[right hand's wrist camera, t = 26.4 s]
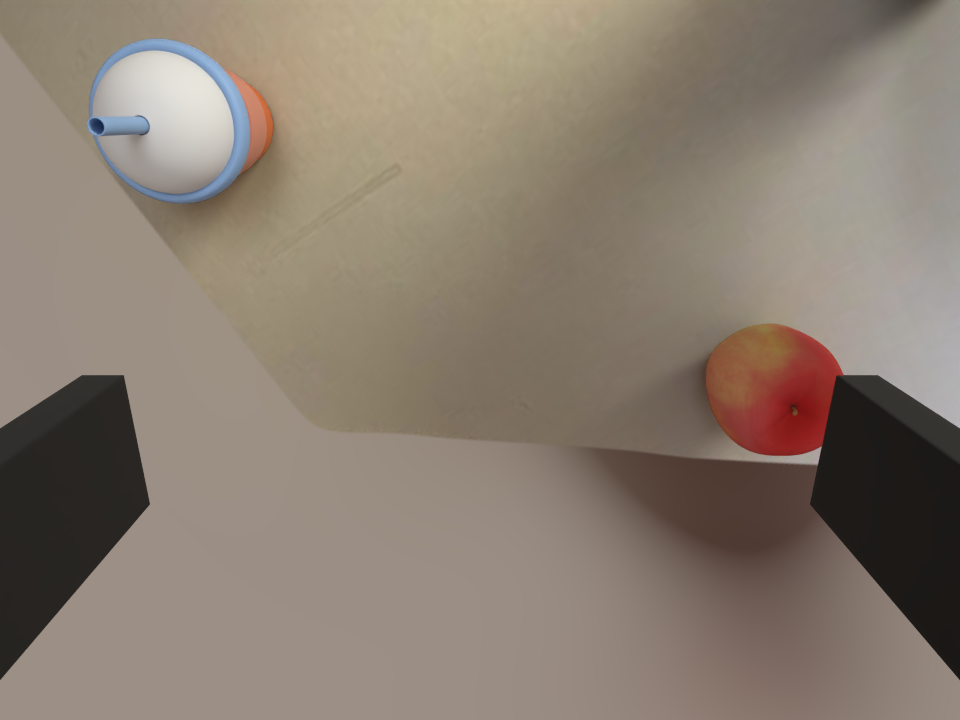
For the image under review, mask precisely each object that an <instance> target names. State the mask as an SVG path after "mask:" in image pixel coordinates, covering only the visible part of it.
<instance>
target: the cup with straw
mask: <svg viewBox="0 0 960 720" xmlns="http://www.w3.org/2000/svg"><path fill="white" fill-rule="evenodd" d="M89 117H90V118H89V119H88V121H87V128H88V130H89V132H90V133H91V134H93V136H94V139H95V141H96V144H97V146H98V148H99V150H100V152H101V154H102V156H103V157H104V159H105V160H106V162H107V163H108V165H109V166H110V167H111V168H112V170H113V171H114V172H115V173H116V174H117V175H118V176H119V177H120V178H121V179H122V180H123V181H125V182H126V183H127V184H128V185H130V186H131V187H132V188H134V189H135V190H137V191H139V192H140V193H142V194H144V195H146V196H149V197H151V198H154V199H156V200H160V201H164V202H169V203H177V204H189V203H196V202H200V201H204V200H207V199H210V198H212V197H214V196H216V195H218V194H219V193H221V192H222V191H224V190H225V189H226V188H227V187H229V186H230V185H231V184H232V183H233V181H234V180H235V179H236V178H237V176H238V175H239V174H240V173H242V172H244V171H246V170H247V169H248V168H250V167H251V166H252V165H253V164H254V163H255V162H256V161H257V160H258V159H260V158H261V157H262V156H263V155H264V153H265V152H266V151H267V149H268V147H269V145H270V143H271V139H272V134H273V121H272V116H271V113H270V110H269V108H268V105H267V104H266V102H265V100H264V99H263V97H262V96H261V95H260V94H259V93H258V92H257V91H256V90H255V89H254V88H253V87H252V86H250V85H249V84H247V83H245V82H244V81H243V80H242V79H241V78H239V77H238V76H236V75H235V74H233V73H231V72H229V71H227V70H225V69H223V68H222V67H221V66H220V65H219V64H218V63H217V62H216V61H214V60H213V59H212V58H211V57H209V56H208V55H206V54H205V53H203V52H202V51H200V50H198V49H196V48H194V47H192V46H190V45H187V44H185V43H181V42H178V41H174V40H168V39H147V40H141V41H137V42H134V43H131V44H129V45H126V46H125V47H123V48H121V49H119V50H118V51H116V52H115V53H114V54H112V55H111V56H110V57H109V58H108V59H107V60H106V62H105V63H104V64H103V65H102V67H101V68H100V70H99V71H98V73H97V75H96V77H95V80H94V82H93V85H92V89H91V93H90V99H89Z"/></svg>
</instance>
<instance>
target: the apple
mask: <svg viewBox="0 0 960 720" xmlns="http://www.w3.org/2000/svg"><path fill="white" fill-rule="evenodd" d="M836 375H843V373H842V370H841V368H840V366H839V364H838V362H837V361H836V359H835V358H834V356H833V355H832V354H831V353H830V351H829V350H828V349H827V348H826V347H824V346H823V345H822V344H821V343H819V342H818V341H816V340H815V339H813V338H812V337H810V336H808V335H806V334H804V333H802V332H800V331H797V330H795V329H792V328H790V327H787V326H783V325H778V324H761V325H755V326H750V327H747V328H744V329H742V330H740V331H738V332H736V333H734V334H733V335H731V336H729V337H728V338H727V339H725V340H724V341H723V342H721V343H720V344H719V345H718V346H717V347H716V348H715V349H714V351H713V352H712V354H711V355H710V358H709V360H708V363H707V368H706V390H707V395H708V399H709V403H710V406H711V409H712V412H713V414H714V416H715V418H716V420H717V422H718V423H719V425H720V426H721V428H722V429H723V431H724V432H725V433H726V434H727V435H728V436H729V437H730V438H731V439H732V440H733V441H734V442H735V443H737V444H738V445H739V446H741V447H743V448H745V449H747V450H749V451H751V452H754V453H758V454H763V455H771V456H790V455H799V454H804V453H807V452H810V451H813V450H815V449H817V448H819V447H821V446H822V443H823V438H824V433H825V429H826V424H827V419H828V414H829V409H830V404H831V399H832V394H833V389H834V384H835V379H836Z"/></svg>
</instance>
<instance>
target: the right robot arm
mask: <svg viewBox="0 0 960 720" xmlns="http://www.w3.org/2000/svg"><path fill="white" fill-rule="evenodd" d="M149 505H150V502H149V498H148V492H147V487H146V483H145V478H144V473H143V468H142V463H141V458H140V453H139V448H138V443H137V438H136V434H135V429H134V424H133V419H132V414H131V409H130V404H129V399H128V394H127V389H126V384H125V380H124V376H123V375H82V376H80V377H79V378H77V379H76V380H74V381H73V382H71V383H70V384H68V385H66V386H65V387H63V388H62V389H60V390H59V391H57V392H56V393H54V394H53V395H51V396H50V397H48V398H46V399H45V400H43V401H42V402H40V403H39V404H37V405H36V406H34V407H33V408H31V409H30V410H28V411H26V412H25V413H23V414H22V415H20V416H19V417H17V418H16V419H14V420H13V421H11V422H10V423H8V424H6V425H5V426H3V427H2V428H0V679H1V678H2V677H3V676H4V675H5V674H6V672H7V671H8V670H9V669H10V668H11V667H12V665H13V664H14V663H15V662H16V661H17V660H18V658H19V657H20V656H21V655H22V654H23V653H24V651H25V650H26V649H27V648H28V647H29V646H30V644H31V643H32V642H33V641H34V640H35V638H36V637H37V636H38V635H39V634H40V633H41V631H42V630H43V629H44V628H45V627H46V626H47V624H48V623H49V622H50V621H51V620H52V619H53V617H54V616H55V615H56V614H57V613H58V612H59V610H60V609H61V608H62V607H63V606H64V604H65V603H66V602H67V601H68V600H69V599H70V597H71V596H72V595H73V594H74V593H75V592H76V590H77V589H78V588H79V587H80V586H81V584H82V583H83V582H84V581H85V580H86V579H87V577H88V576H89V575H90V574H91V573H92V572H93V570H94V569H95V568H96V567H97V566H98V565H99V563H100V562H101V561H102V560H103V559H104V558H105V556H106V555H107V554H108V553H109V552H110V550H111V549H112V548H113V547H114V546H115V545H116V543H117V542H118V541H119V540H120V539H121V538H122V536H123V535H124V534H125V533H126V532H127V531H128V529H129V528H130V527H131V526H132V525H133V524H134V522H135V521H136V520H137V519H138V518H139V516H140V515H141V514H142V513H143V512H144V511H145V509H146V508H147V507H148V506H149ZM810 505H811V506H812V507H813V508H814V509H815V511H816V512H817V513H818V514H819V515H820V516H821V518H822V519H823V520H824V521H825V522H826V524H827V525H828V526H829V527H830V528H831V529H832V531H833V532H834V533H835V534H836V535H837V536H838V538H839V539H840V540H841V541H842V542H843V543H844V545H845V546H846V547H847V548H848V549H849V550H850V552H851V553H852V554H853V555H854V556H855V558H856V559H857V560H858V561H859V562H860V563H861V564H862V566H863V567H864V568H865V569H866V570H867V572H868V573H869V574H870V575H871V576H872V577H873V579H874V580H875V581H876V582H877V583H878V584H879V586H880V587H881V588H882V589H883V590H884V592H885V593H886V594H887V595H888V596H889V597H890V599H891V600H892V601H893V602H894V603H895V604H896V606H897V607H898V608H899V609H900V610H901V612H902V613H903V614H904V615H905V616H906V617H907V619H908V620H909V621H910V622H911V623H912V624H913V626H914V627H915V628H916V629H917V630H918V631H919V633H920V634H921V635H922V636H923V637H924V638H925V640H926V641H927V642H928V643H929V644H930V646H931V647H932V648H933V649H934V650H935V651H936V653H937V654H938V655H939V656H940V657H941V658H942V660H943V661H944V662H945V663H946V664H947V665H948V667H949V668H950V669H951V670H952V671H953V673H954V674H955V675H956V676H957V677H958V678H959V680H960V428H958V427H957V426H955V425H954V424H952V423H950V422H949V421H947V420H946V419H944V418H943V417H941V416H940V415H938V414H937V413H935V412H934V411H932V410H930V409H929V408H927V407H926V406H924V405H923V404H921V403H920V402H918V401H917V400H915V399H914V398H912V397H910V396H909V395H907V394H906V393H904V392H903V391H901V390H900V389H898V388H897V387H895V386H894V385H892V384H890V383H889V382H887V381H886V380H884V379H883V378H881V377H880V376H878V375H836V379H835V384H834V389H833V394H832V399H831V404H830V409H829V414H828V419H827V424H826V429H825V433H824V438H823V443H822V448H821V453H820V458H819V463H818V468H817V473H816V478H815V483H814V488H813V492H812V497H811V502H810Z"/></svg>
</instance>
